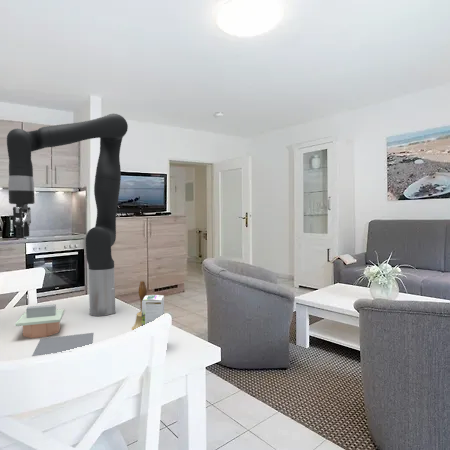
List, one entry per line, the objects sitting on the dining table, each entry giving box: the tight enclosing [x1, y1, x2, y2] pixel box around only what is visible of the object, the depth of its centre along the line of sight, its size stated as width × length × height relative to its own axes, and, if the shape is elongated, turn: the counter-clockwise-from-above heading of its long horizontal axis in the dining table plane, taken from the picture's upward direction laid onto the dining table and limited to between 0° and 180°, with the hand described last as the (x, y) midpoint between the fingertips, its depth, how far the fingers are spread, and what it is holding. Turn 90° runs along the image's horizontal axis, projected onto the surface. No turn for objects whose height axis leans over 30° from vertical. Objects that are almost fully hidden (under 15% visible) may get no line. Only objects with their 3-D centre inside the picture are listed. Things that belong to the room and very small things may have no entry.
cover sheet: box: [15, 303, 66, 327], centre depth 109 cm, size 12×12×4 cm
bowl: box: [22, 321, 61, 339], centre depth 109 cm, size 10×10×5 cm
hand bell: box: [131, 280, 148, 331], centre depth 112 cm, size 8×8×16 cm
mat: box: [31, 332, 95, 357], centre depth 100 cm, size 15×13×1 cm
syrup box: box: [142, 294, 165, 326], centre depth 98 cm, size 6×6×14 cm
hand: (23, 237), depth 117 cm, fingers open, 8 cm apart
